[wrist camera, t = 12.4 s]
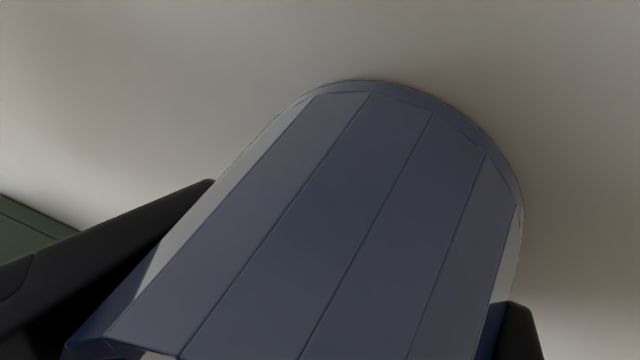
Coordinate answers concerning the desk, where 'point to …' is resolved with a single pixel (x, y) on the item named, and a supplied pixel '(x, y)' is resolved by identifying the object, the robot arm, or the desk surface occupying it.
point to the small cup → (331, 243)
